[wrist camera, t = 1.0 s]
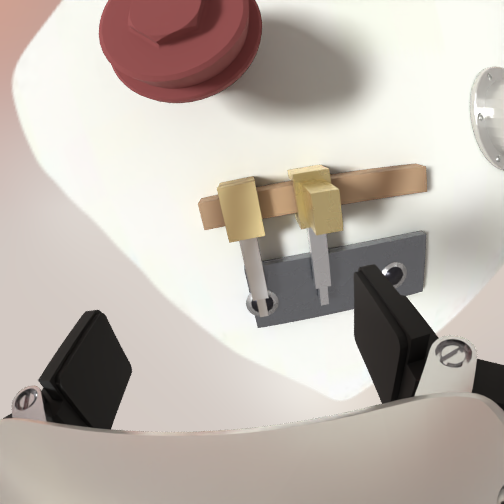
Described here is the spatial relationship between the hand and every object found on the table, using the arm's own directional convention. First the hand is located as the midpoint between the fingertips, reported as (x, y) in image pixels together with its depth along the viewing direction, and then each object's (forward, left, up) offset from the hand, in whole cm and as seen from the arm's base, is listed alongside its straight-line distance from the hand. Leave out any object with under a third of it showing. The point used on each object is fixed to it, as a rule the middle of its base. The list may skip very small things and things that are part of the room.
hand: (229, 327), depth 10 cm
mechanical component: (+1, -14, -18) cm, 23 cm away
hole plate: (-9, +10, -18) cm, 22 cm away
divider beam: (-7, +4, -18) cm, 20 cm away
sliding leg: (-6, +4, -18) cm, 20 cm away
